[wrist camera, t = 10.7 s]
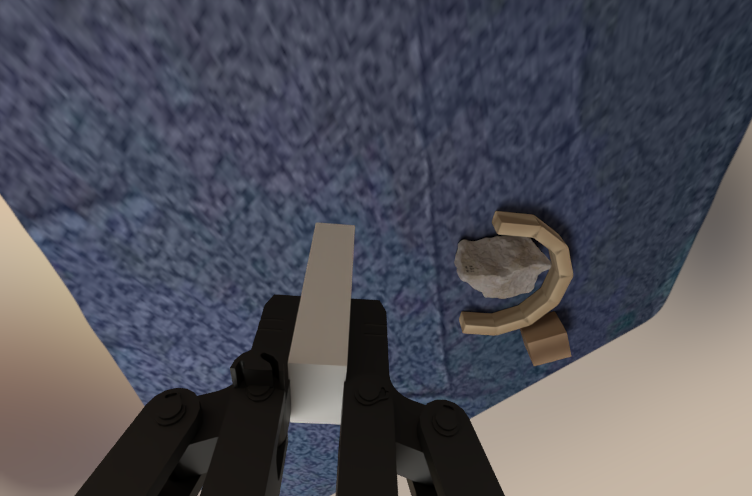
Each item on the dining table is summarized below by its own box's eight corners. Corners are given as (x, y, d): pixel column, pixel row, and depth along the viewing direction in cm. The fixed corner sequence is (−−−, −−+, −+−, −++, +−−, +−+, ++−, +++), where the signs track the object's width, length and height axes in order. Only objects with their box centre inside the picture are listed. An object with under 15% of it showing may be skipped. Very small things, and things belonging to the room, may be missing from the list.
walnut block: (517, 321, 55) (527, 343, 52) (554, 310, 54) (566, 332, 51) (524, 343, 58) (534, 366, 54) (559, 333, 57) (571, 356, 53)
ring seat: (495, 210, 45) (501, 222, 43) (585, 219, 46) (596, 231, 44) (459, 319, 54) (462, 333, 52) (534, 324, 55) (540, 338, 53)
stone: (521, 284, 51) (536, 317, 46) (445, 279, 51) (453, 312, 46) (542, 232, 47) (562, 262, 42) (459, 225, 46) (469, 255, 41)
